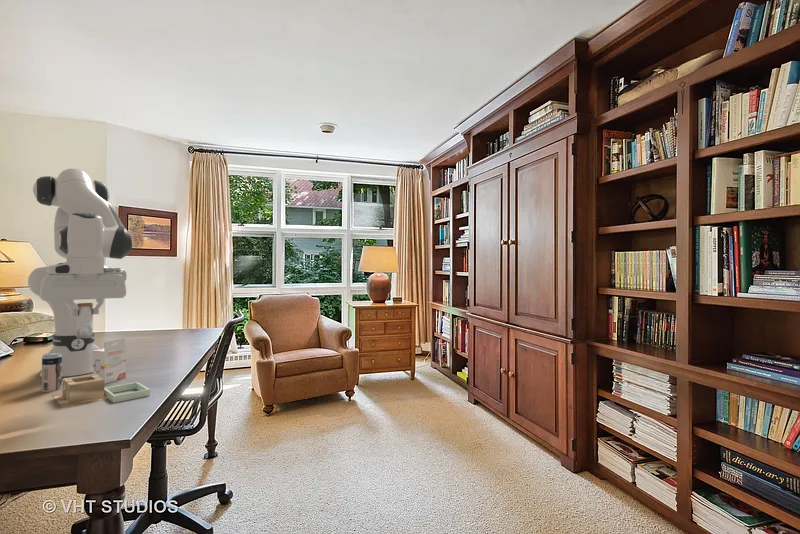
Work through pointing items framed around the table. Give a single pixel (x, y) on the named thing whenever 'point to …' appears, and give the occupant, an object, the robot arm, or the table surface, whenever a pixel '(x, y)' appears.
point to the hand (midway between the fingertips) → (84, 314)
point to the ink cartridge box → (110, 361)
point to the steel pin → (84, 320)
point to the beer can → (51, 372)
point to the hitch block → (81, 390)
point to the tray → (126, 396)
